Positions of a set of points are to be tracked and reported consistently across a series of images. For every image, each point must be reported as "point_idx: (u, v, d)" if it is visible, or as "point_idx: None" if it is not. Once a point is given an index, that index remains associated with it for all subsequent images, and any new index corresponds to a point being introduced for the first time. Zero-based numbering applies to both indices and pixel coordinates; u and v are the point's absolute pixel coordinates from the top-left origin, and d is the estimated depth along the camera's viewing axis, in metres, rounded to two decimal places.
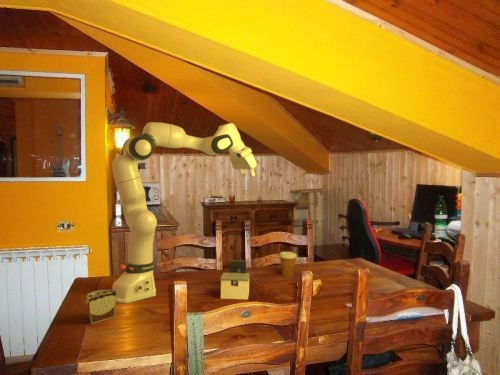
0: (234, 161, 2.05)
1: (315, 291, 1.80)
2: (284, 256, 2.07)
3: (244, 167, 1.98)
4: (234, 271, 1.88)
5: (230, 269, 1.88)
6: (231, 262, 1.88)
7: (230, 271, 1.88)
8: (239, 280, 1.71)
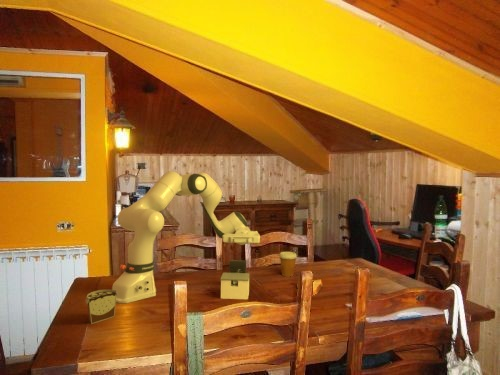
0: (231, 234, 2.11)
1: (315, 291, 1.80)
2: (284, 256, 2.07)
3: (246, 235, 2.07)
4: (234, 271, 1.88)
5: (230, 269, 1.88)
6: (231, 262, 1.88)
7: (230, 271, 1.88)
8: (239, 280, 1.71)
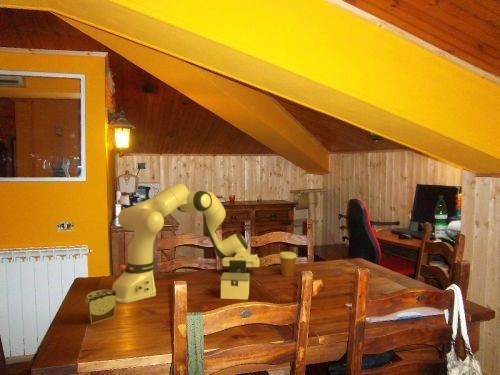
0: None
1: (315, 291, 1.80)
2: (284, 256, 2.07)
3: (246, 259, 2.08)
4: (234, 271, 1.88)
5: (230, 269, 1.88)
6: (231, 262, 1.88)
7: (230, 271, 1.88)
8: (239, 280, 1.71)
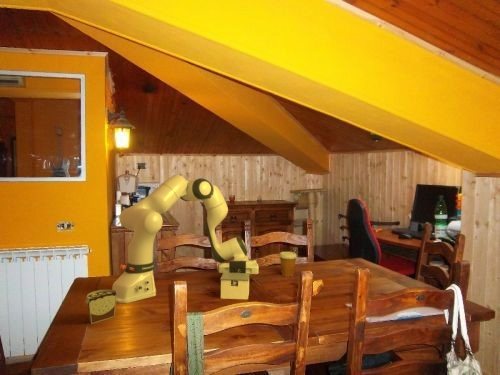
0: (228, 264, 1.99)
1: (316, 291, 1.80)
2: (284, 256, 2.07)
3: None
4: (234, 271, 1.87)
5: (230, 269, 1.87)
6: (231, 262, 1.87)
7: (230, 271, 1.88)
8: (239, 280, 1.71)
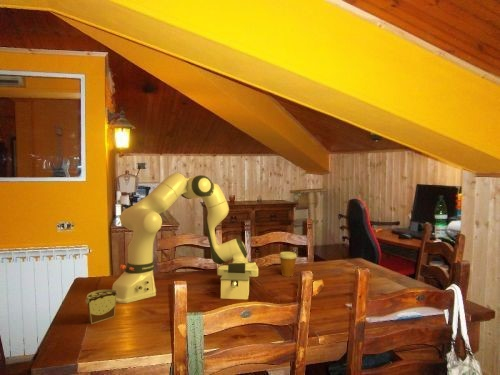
0: (227, 266, 1.94)
1: (316, 291, 1.80)
2: (284, 256, 2.07)
3: None
4: None
5: (229, 272, 1.83)
6: (230, 265, 1.82)
7: None
8: (239, 280, 1.71)
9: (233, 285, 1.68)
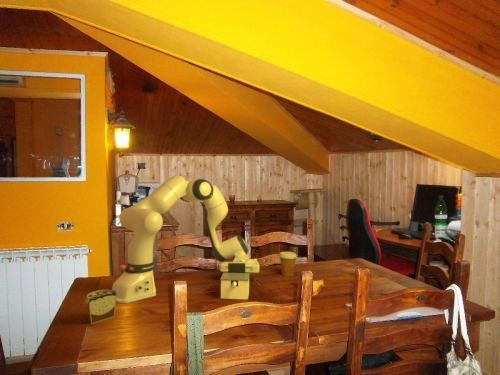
0: None
1: (316, 291, 1.80)
2: (284, 256, 2.07)
3: (245, 264, 1.96)
4: None
5: (229, 272, 1.83)
6: (230, 265, 1.82)
7: None
8: (239, 280, 1.71)
9: (233, 285, 1.68)
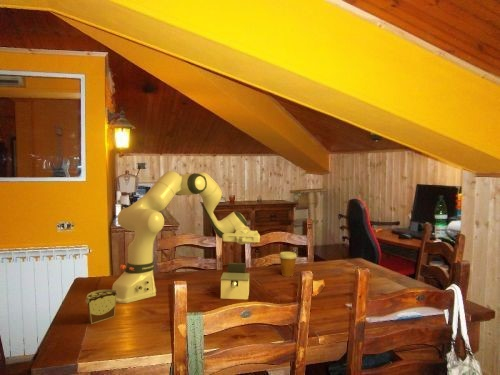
0: (231, 234, 2.11)
1: (316, 291, 1.80)
2: (284, 256, 2.07)
3: (246, 235, 2.07)
4: None
5: (229, 272, 1.83)
6: (230, 265, 1.82)
7: None
8: (239, 280, 1.71)
9: (233, 285, 1.68)
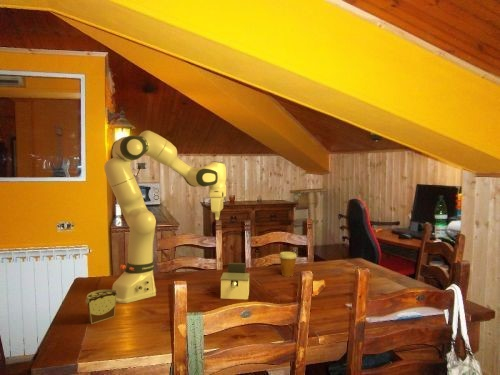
0: None
1: (317, 291, 1.80)
2: (284, 256, 2.07)
3: None
4: None
5: (229, 272, 1.83)
6: (230, 265, 1.82)
7: None
8: (239, 280, 1.71)
9: (233, 285, 1.68)
